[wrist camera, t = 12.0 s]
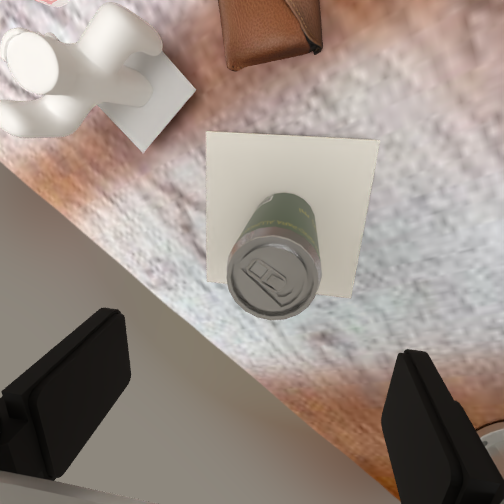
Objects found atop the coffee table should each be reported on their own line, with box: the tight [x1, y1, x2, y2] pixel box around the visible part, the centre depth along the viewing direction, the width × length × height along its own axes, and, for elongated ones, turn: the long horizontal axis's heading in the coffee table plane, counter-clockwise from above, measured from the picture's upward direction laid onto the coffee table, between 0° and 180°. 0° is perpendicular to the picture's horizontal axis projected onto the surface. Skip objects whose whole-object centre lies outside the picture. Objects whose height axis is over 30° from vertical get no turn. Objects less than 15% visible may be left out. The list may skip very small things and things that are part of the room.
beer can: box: [226, 193, 322, 320], centre depth 22 cm, size 5×5×12 cm
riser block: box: [206, 131, 380, 298], centre depth 30 cm, size 14×14×4 cm
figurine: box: [0, 2, 196, 153], centre depth 22 cm, size 7×9×15 cm
